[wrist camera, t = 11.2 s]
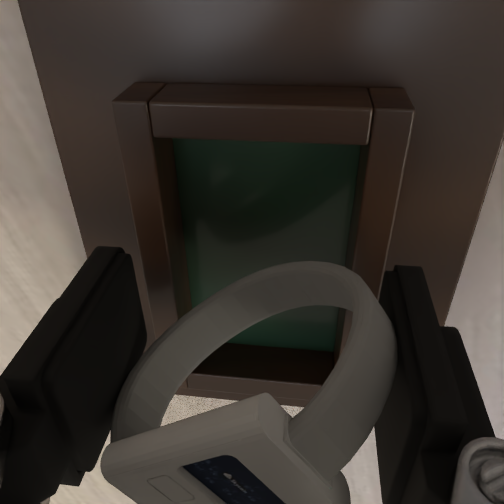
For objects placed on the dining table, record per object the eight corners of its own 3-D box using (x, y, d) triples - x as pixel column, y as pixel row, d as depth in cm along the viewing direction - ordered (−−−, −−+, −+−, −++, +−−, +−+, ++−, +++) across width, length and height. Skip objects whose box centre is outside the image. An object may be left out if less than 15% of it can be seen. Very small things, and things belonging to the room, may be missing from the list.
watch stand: (30, -42, 10) (-42, -36, 8) (541, -46, 9) (604, -40, 7) (130, 369, 18) (107, 424, 16) (410, 396, 17) (422, 458, 15)
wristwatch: (194, 365, 13) (139, 558, 9) (131, 301, 12) (34, 490, 8) (399, 286, 11) (447, 505, 7) (343, 196, 9) (361, 394, 5)
